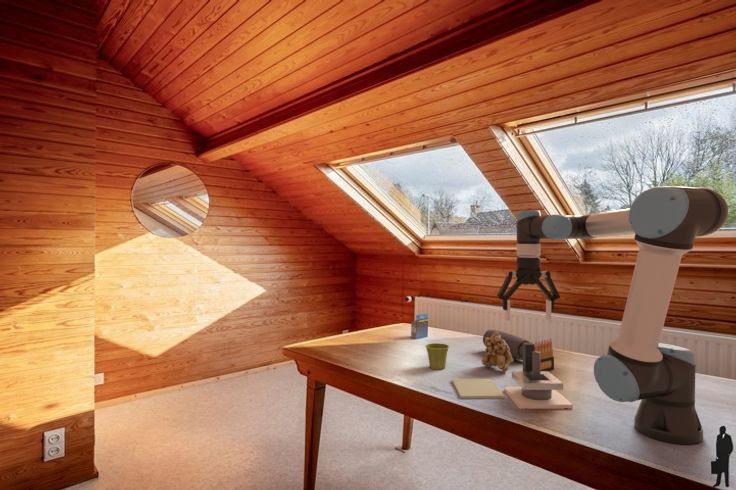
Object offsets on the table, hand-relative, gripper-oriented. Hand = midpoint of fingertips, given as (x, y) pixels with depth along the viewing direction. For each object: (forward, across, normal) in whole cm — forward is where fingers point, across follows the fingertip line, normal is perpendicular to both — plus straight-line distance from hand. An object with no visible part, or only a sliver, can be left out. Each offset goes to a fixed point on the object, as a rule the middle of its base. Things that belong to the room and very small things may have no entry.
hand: (528, 319), depth 150 cm
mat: (+24, +17, -1) cm, 29 cm away
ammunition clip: (+24, -13, -21) cm, 35 cm away
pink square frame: (+19, 0, +6) cm, 20 cm away
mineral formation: (+24, +4, -23) cm, 34 cm away
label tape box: (+25, +29, -78) cm, 87 cm away
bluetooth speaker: (+24, -5, -42) cm, 49 cm away
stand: (+24, 0, +8) cm, 25 cm away
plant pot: (+24, +27, -26) cm, 45 cm away
